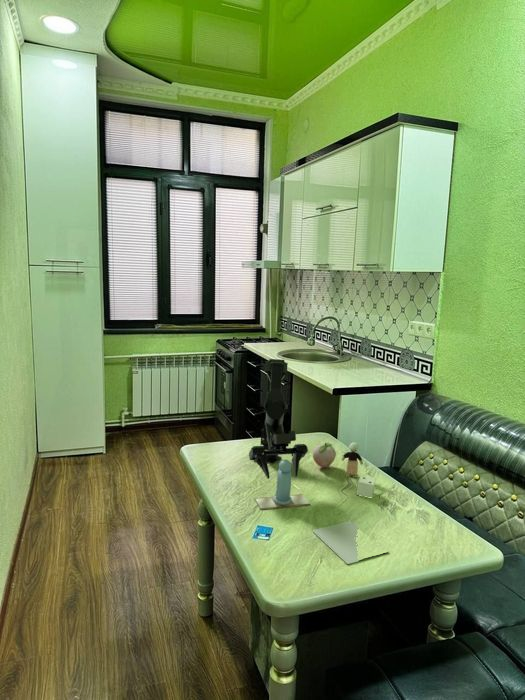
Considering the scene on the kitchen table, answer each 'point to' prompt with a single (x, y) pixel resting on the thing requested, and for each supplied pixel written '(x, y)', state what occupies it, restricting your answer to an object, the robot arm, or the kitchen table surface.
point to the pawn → (283, 483)
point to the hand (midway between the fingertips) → (282, 477)
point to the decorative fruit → (324, 455)
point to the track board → (270, 504)
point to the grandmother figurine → (352, 460)
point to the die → (366, 486)
